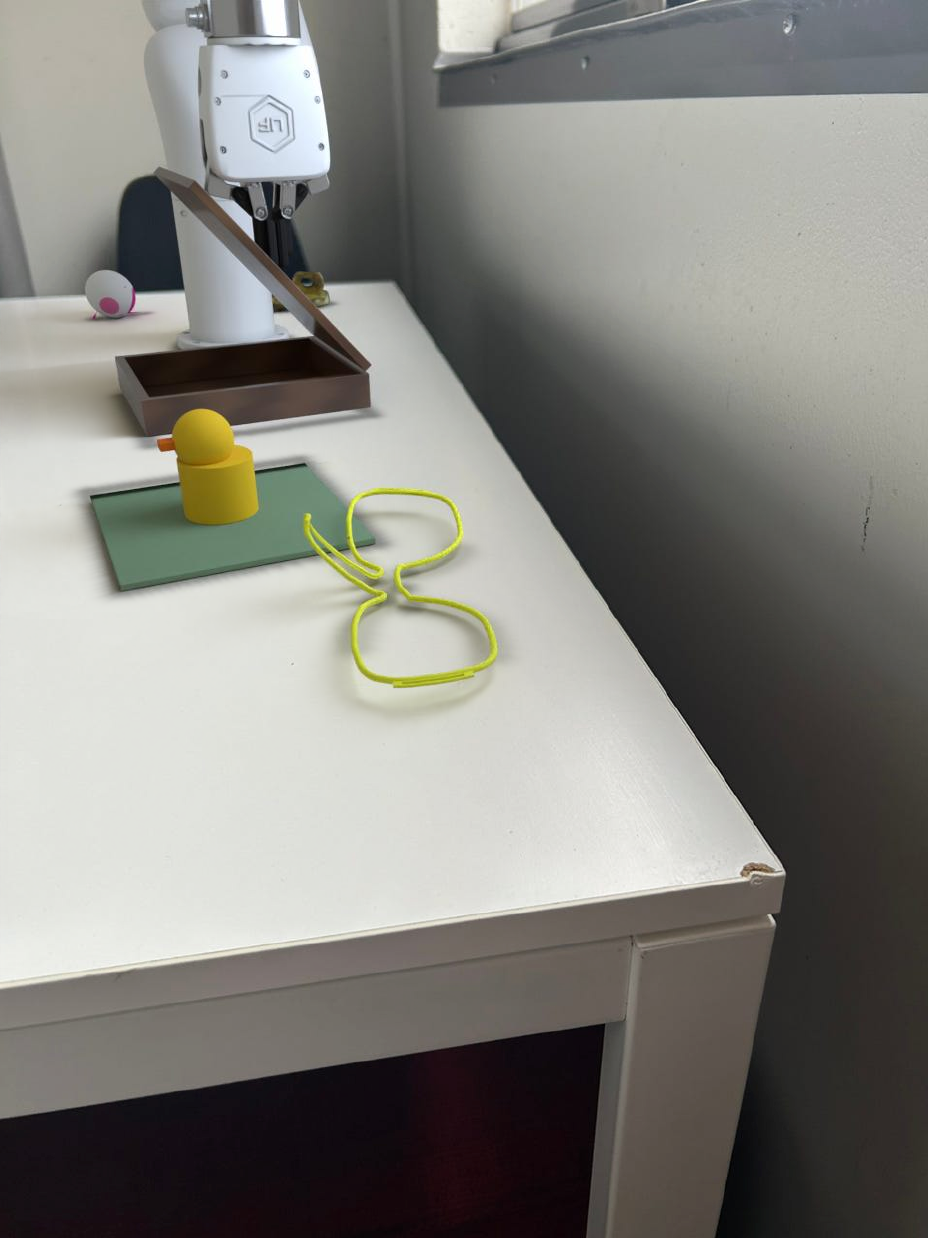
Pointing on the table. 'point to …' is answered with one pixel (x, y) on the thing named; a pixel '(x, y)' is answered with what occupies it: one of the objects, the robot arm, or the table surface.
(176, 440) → the duck
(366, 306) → the table surface
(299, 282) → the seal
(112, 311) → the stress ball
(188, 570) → the mat
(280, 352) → the chest
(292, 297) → the lid
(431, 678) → the glasses
